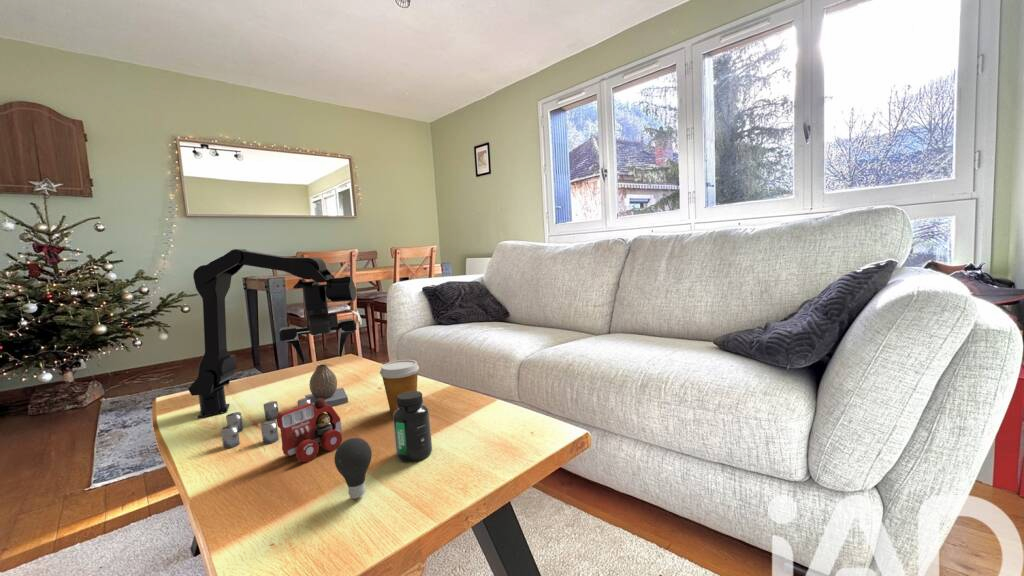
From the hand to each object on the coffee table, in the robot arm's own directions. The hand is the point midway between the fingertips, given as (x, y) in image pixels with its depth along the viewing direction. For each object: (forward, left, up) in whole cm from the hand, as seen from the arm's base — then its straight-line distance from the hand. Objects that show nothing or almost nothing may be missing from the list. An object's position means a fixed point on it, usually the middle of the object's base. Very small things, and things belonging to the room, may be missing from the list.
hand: (322, 359), depth 113 cm
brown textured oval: (0, 0, -11) cm, 11 cm away
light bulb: (+54, 0, -12) cm, 55 cm away
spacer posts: (+12, -13, -12) cm, 21 cm away
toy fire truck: (+31, -5, -12) cm, 34 cm away
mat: (0, 0, -12) cm, 12 cm away
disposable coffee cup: (+21, +16, -12) cm, 29 cm away
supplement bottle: (+45, +12, -12) cm, 48 cm away
